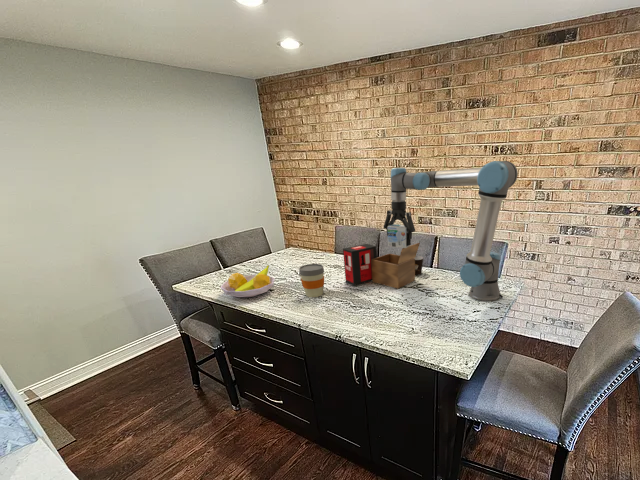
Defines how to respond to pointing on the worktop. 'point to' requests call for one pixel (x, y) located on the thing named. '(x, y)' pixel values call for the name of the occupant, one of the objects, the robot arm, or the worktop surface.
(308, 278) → the reusable coffee cup
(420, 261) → the coffee mug
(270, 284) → the fruit bowl
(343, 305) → the worktop surface
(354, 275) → the cleaning product box
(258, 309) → the worktop surface
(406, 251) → the flap
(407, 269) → the carton
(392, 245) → the light bulb box
